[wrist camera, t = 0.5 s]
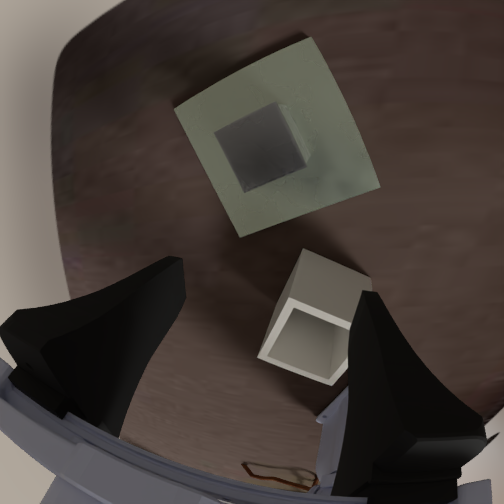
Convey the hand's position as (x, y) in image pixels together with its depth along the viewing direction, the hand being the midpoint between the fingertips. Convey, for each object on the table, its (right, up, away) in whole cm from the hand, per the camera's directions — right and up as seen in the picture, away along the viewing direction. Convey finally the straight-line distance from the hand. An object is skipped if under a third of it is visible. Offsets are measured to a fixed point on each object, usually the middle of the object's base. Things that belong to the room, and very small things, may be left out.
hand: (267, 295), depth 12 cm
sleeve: (+5, -1, +10) cm, 12 cm away
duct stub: (+1, +9, +6) cm, 11 cm away
